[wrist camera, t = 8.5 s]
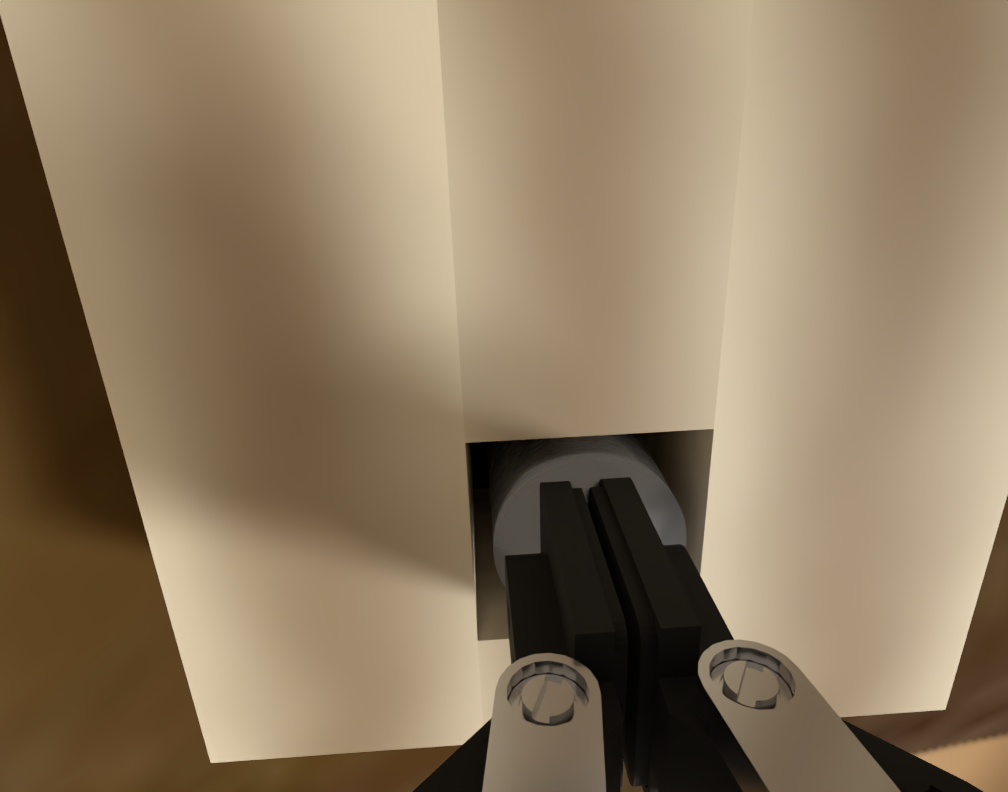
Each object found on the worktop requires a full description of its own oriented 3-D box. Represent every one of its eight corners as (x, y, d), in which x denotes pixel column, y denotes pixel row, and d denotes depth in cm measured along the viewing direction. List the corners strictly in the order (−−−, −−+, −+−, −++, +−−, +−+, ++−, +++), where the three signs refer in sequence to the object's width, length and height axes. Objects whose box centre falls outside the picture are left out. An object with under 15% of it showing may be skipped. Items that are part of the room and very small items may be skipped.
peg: (624, 354, 17) (693, 455, 12) (619, 480, 18) (679, 618, 13) (481, 362, 17) (489, 466, 12) (488, 487, 18) (497, 630, 13)
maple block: (988, -482, 12) (1439, -1001, 6) (814, 549, 20) (945, 709, 15) (72, -477, 11) (-298, -1046, 6) (281, 583, 20) (210, 762, 14)
